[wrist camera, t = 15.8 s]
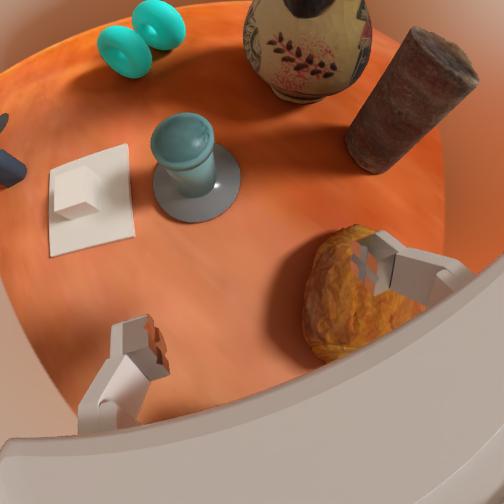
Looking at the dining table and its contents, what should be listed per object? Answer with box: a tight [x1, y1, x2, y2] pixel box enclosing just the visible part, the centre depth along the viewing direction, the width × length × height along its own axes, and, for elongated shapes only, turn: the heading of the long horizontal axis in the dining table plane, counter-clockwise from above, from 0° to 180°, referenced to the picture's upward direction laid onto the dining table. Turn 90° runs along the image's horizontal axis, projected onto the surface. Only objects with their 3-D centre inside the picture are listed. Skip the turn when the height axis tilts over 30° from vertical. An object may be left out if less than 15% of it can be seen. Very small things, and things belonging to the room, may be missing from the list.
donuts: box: [97, 0, 186, 79], centre depth 29 cm, size 10×10×10 cm
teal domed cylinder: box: [151, 112, 217, 198], centre depth 26 cm, size 5×5×9 cm
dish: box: [153, 142, 241, 223], centre depth 31 cm, size 10×10×1 cm
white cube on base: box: [49, 143, 135, 257], centre depth 28 cm, size 12×12×5 cm
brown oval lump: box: [302, 224, 423, 364], centre depth 28 cm, size 14×16×8 cm
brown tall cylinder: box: [345, 26, 479, 174], centre depth 24 cm, size 8×7×20 cm
